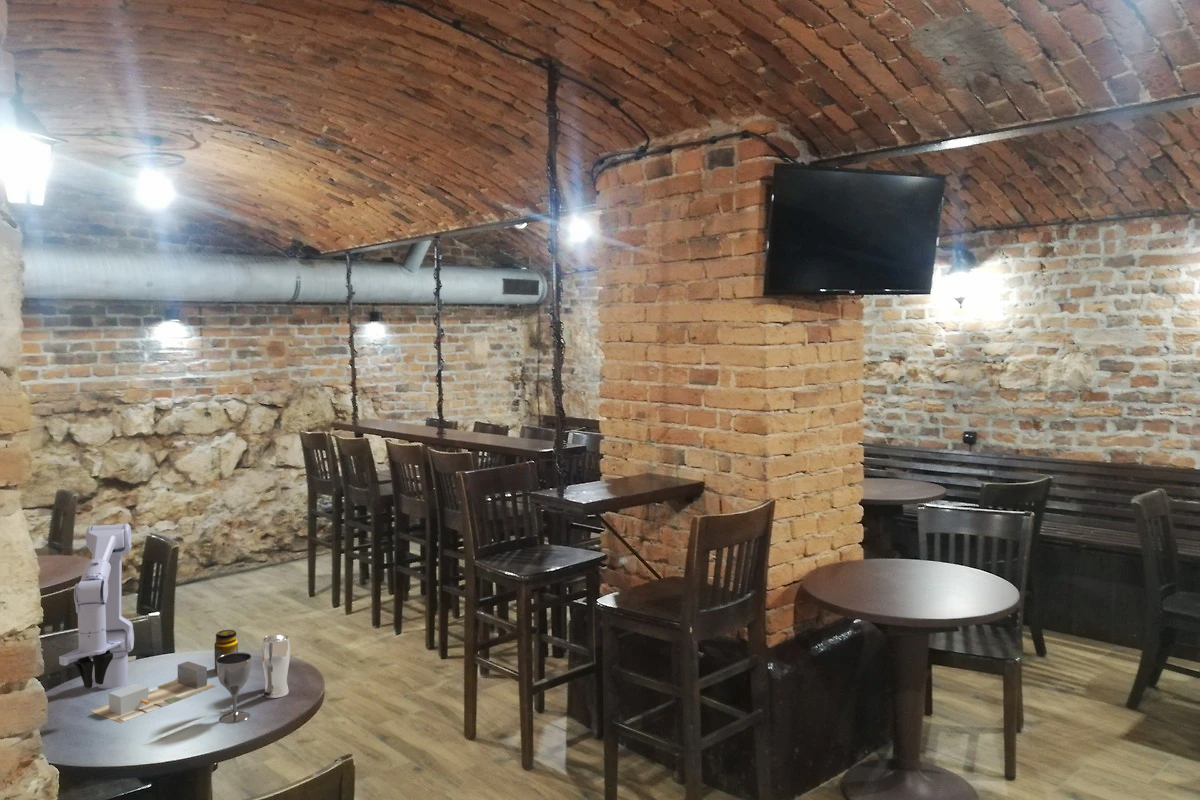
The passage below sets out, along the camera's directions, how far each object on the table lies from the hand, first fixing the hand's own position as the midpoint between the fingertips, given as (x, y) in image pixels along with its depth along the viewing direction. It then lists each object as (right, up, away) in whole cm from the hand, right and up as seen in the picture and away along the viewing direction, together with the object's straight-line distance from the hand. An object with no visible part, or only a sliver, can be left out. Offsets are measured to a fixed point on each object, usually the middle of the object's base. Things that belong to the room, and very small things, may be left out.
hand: (93, 685), depth 208 cm
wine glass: (+31, -10, +6) cm, 34 cm away
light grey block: (+6, -8, +9) cm, 14 cm away
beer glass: (+36, -9, +21) cm, 43 cm away
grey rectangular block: (+13, -7, +23) cm, 27 cm away
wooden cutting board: (+8, -9, +14) cm, 18 cm away
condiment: (+17, -8, +33) cm, 38 cm away
